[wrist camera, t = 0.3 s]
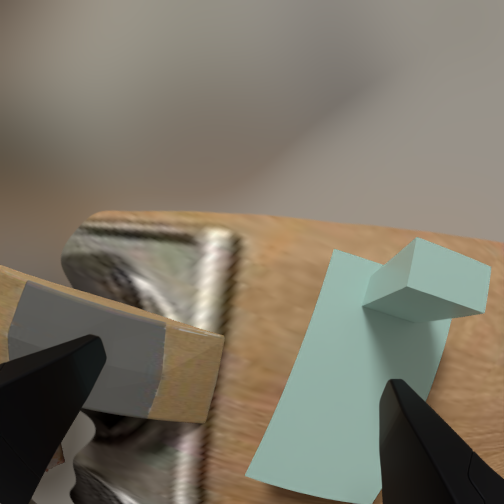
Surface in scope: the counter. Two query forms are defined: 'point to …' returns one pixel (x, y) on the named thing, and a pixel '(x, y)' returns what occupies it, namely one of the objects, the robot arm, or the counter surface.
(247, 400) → the counter surface
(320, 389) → the lid
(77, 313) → the sandwich container
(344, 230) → the counter surface
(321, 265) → the counter surface
